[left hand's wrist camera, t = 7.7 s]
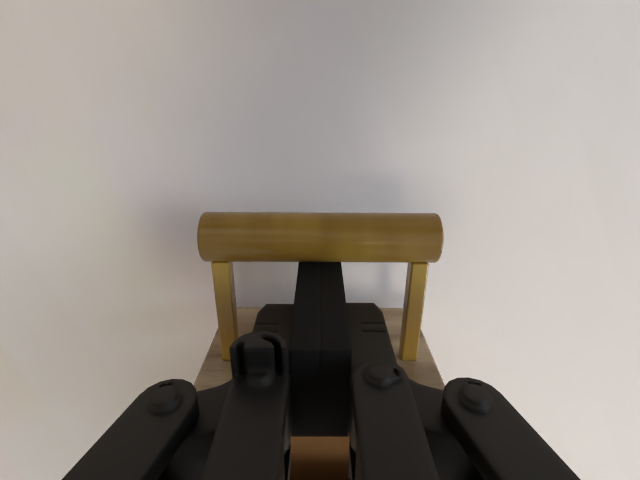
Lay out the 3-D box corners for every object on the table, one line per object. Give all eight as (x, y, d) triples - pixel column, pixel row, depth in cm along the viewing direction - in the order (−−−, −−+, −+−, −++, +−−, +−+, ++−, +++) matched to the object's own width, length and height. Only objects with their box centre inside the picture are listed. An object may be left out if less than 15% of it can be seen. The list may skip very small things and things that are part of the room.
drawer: (214, 187, 16) (156, 240, 10) (426, 188, 16) (484, 242, 10) (249, 532, 24) (228, 664, 19) (386, 532, 24) (406, 665, 19)
